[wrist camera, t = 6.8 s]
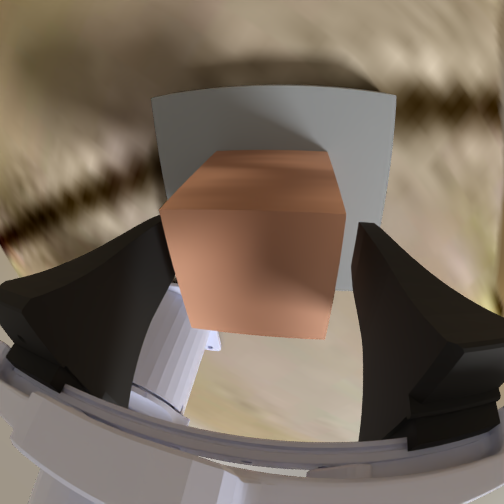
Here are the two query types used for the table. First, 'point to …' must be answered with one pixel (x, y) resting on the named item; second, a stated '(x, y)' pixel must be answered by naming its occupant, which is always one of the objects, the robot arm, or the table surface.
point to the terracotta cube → (258, 242)
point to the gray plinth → (286, 139)
